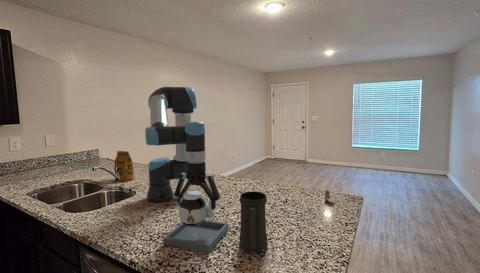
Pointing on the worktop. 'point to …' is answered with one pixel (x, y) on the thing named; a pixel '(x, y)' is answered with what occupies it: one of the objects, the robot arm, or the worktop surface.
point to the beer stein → (253, 222)
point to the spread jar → (193, 209)
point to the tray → (196, 236)
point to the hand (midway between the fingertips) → (197, 215)
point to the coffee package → (124, 166)
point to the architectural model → (327, 195)
